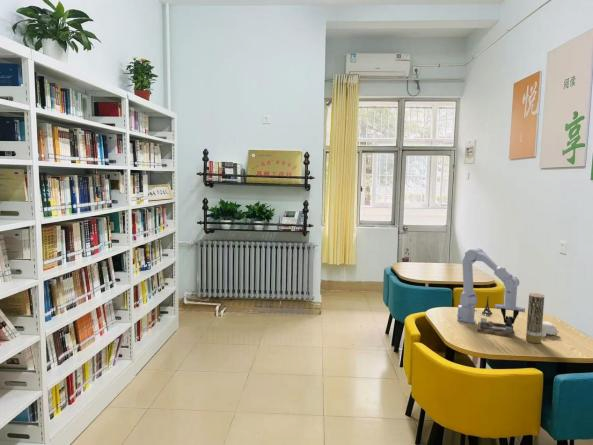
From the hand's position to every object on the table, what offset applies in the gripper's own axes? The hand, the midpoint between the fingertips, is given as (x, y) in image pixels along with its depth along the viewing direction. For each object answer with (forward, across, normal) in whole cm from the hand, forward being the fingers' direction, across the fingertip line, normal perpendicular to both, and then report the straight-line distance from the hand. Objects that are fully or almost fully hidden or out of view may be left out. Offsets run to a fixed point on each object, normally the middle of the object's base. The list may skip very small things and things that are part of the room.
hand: (508, 322), depth 221 cm
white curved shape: (+6, +17, +7) cm, 19 cm away
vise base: (+6, -6, 0) cm, 9 cm away
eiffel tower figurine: (+6, -12, +33) cm, 36 cm away
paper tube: (+6, +12, -8) cm, 15 cm away
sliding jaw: (+4, 0, 0) cm, 4 cm away
